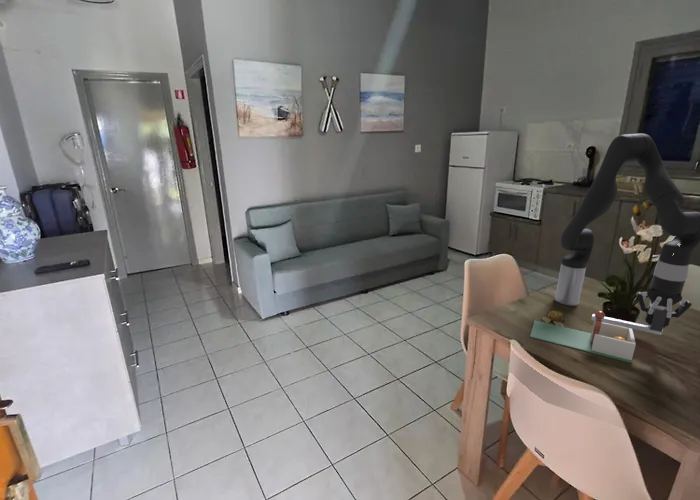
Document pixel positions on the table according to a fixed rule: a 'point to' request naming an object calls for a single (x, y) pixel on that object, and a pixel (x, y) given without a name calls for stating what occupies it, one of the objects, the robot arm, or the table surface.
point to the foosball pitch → (582, 340)
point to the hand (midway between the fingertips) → (655, 324)
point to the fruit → (554, 318)
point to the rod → (654, 327)
